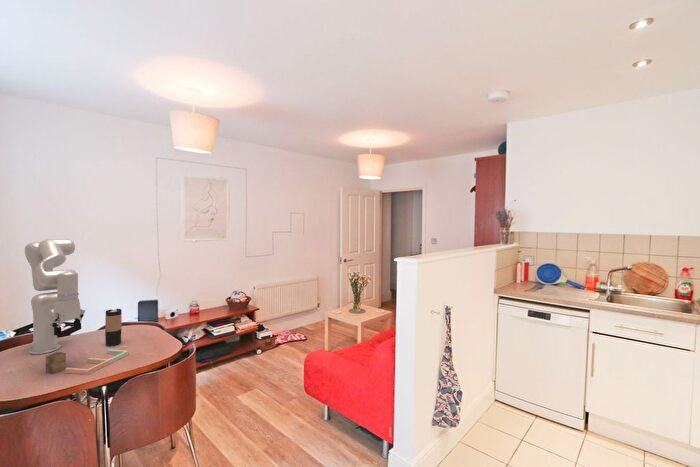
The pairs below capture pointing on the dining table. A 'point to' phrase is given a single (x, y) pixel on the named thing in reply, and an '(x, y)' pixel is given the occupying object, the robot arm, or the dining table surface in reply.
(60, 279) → the robot arm
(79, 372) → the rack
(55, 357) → the walnut block
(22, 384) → the dining table surface
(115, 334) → the travel mug
